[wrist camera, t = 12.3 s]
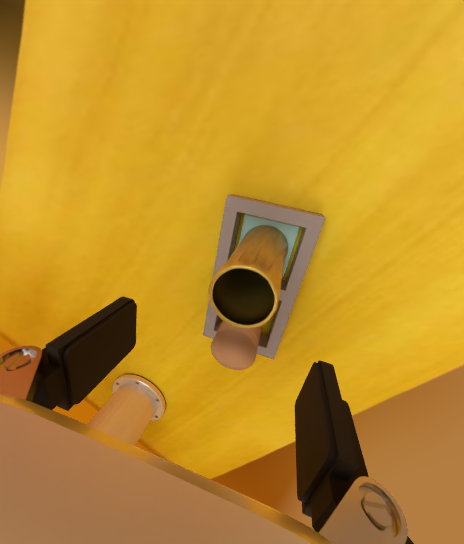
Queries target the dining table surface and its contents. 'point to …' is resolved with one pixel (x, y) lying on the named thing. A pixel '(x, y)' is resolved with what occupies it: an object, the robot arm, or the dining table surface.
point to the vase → (250, 279)
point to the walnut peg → (235, 346)
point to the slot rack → (300, 262)
